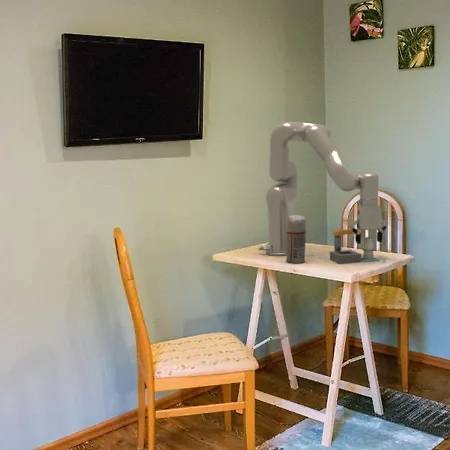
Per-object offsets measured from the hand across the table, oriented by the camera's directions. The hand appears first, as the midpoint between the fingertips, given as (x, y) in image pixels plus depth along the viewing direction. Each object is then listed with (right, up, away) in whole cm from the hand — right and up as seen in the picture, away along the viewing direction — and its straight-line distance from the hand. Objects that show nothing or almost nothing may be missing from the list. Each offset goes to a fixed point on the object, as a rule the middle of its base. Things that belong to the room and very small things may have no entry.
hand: (368, 242), depth 284 cm
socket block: (-10, -8, +1) cm, 13 cm away
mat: (0, -8, +1) cm, 8 cm away
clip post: (-12, -7, +9) cm, 16 cm away
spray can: (-31, -8, +2) cm, 32 cm away
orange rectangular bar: (-7, +3, +9) cm, 12 cm away
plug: (0, -7, +1) cm, 7 cm away
